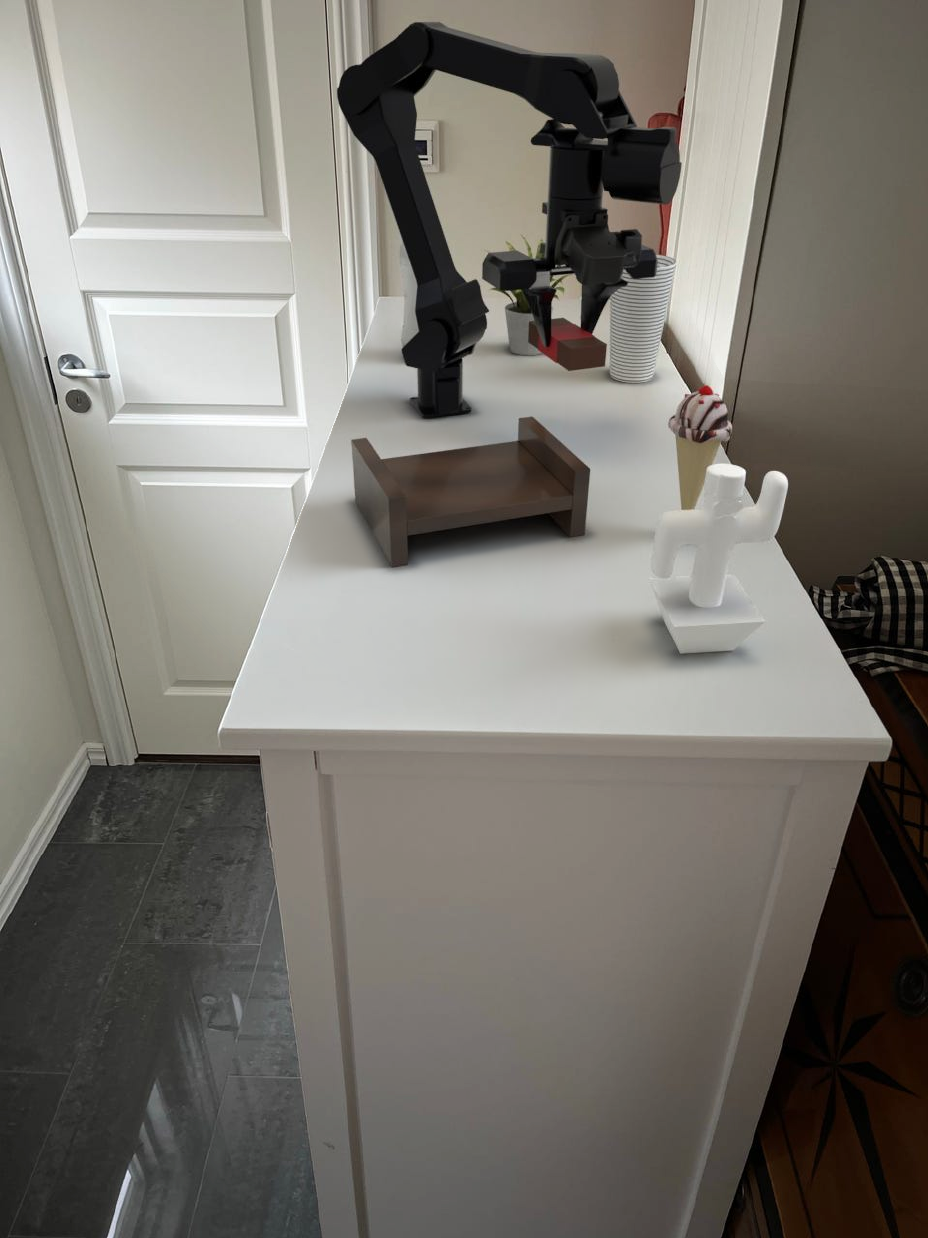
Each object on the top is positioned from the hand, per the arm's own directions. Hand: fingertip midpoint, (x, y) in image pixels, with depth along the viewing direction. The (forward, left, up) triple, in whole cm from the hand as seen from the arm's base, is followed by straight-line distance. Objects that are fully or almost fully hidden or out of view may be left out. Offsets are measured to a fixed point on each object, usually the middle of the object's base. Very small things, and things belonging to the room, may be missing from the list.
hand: (565, 343), depth 106 cm
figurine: (+43, -7, -11) cm, 45 cm away
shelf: (+17, -18, -11) cm, 27 cm away
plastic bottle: (-33, -7, -11) cm, 36 cm away
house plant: (-31, +10, -11) cm, 35 cm away
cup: (-16, +18, -11) cm, 27 cm away
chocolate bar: (0, 0, -1) cm, 1 cm away
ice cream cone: (+27, +1, -11) cm, 29 cm away
